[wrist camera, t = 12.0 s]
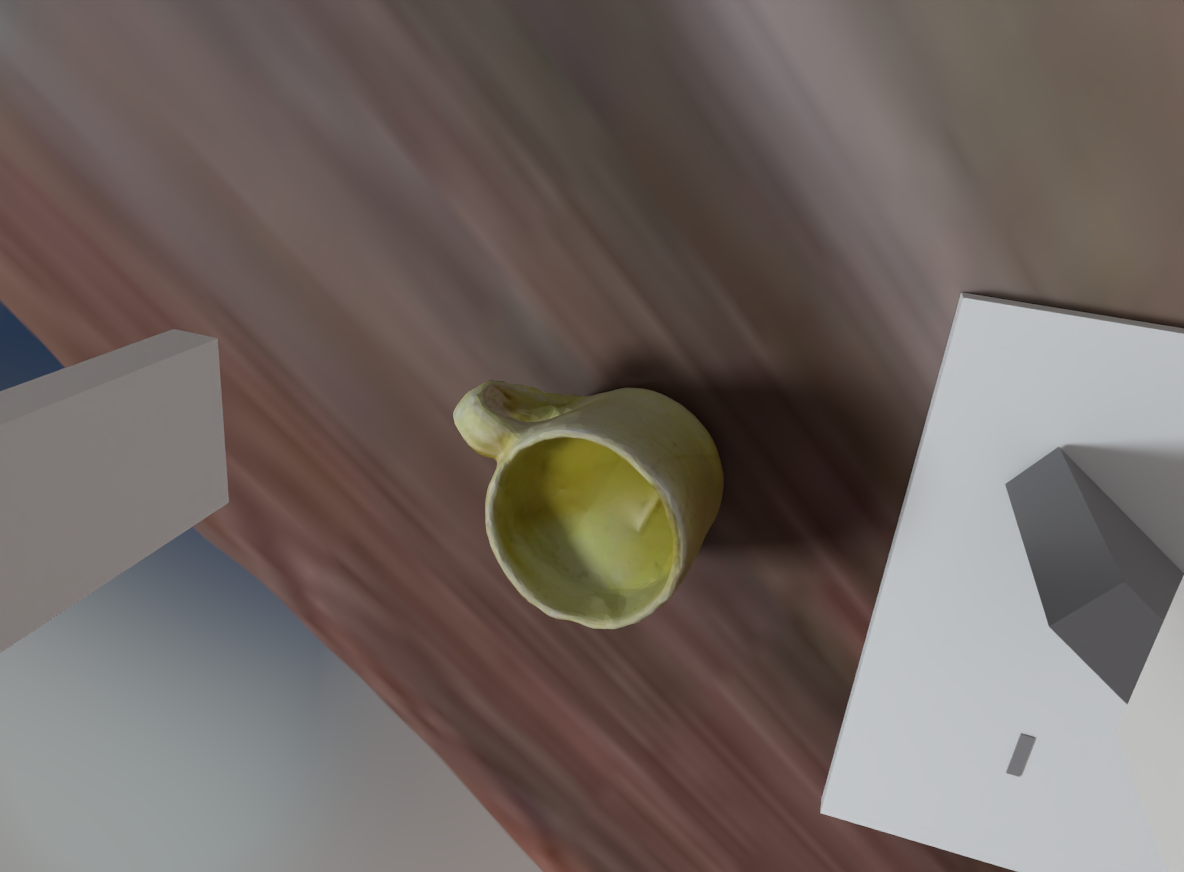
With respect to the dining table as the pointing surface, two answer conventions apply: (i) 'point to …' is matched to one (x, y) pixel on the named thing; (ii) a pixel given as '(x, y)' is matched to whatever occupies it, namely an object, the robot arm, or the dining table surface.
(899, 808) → the board
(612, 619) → the mug
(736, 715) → the dining table surface
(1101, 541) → the gray bar
